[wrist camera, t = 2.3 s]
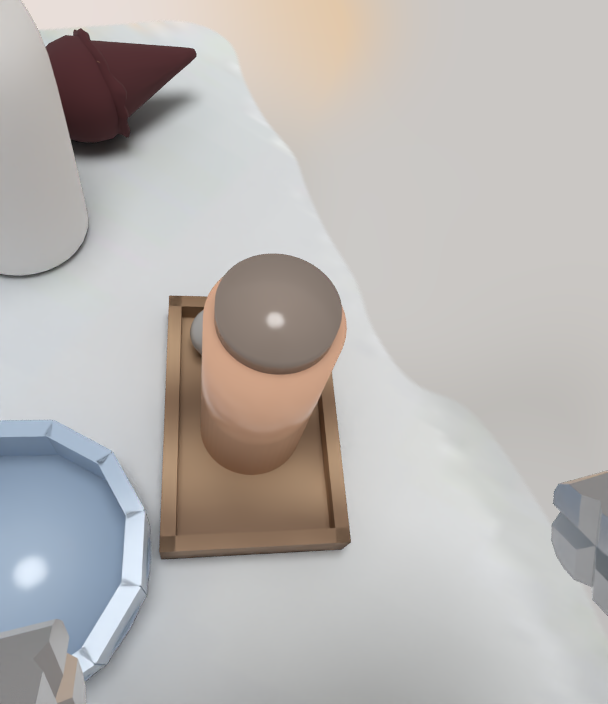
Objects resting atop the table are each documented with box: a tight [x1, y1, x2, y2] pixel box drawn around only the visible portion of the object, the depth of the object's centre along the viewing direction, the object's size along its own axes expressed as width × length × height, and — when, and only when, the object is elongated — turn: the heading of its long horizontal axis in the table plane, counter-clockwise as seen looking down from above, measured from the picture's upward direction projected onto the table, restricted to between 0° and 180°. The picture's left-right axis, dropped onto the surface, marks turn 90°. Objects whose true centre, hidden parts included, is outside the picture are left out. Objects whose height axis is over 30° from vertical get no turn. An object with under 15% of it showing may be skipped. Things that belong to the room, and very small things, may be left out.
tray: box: [159, 296, 351, 559], centre depth 31 cm, size 14×9×2 cm, turn 5°
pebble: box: [190, 310, 203, 355], centre depth 32 cm, size 3×3×3 cm
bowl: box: [0, 420, 151, 681], centre depth 25 cm, size 12×12×4 cm
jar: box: [200, 254, 347, 475], centre depth 26 cm, size 5×5×12 cm
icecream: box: [45, 28, 196, 143], centre depth 38 cm, size 7×7×15 cm
